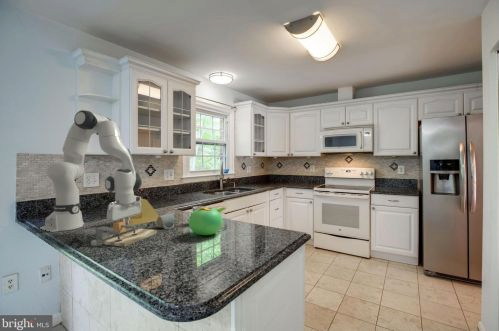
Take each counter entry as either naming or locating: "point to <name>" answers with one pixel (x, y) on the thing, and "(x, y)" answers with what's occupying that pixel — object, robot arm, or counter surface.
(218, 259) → the counter surface
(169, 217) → the ceramic mug
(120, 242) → the bolt plate
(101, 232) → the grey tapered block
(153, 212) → the clamp
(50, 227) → the robot arm
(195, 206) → the mug
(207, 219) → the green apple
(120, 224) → the sliding leg
